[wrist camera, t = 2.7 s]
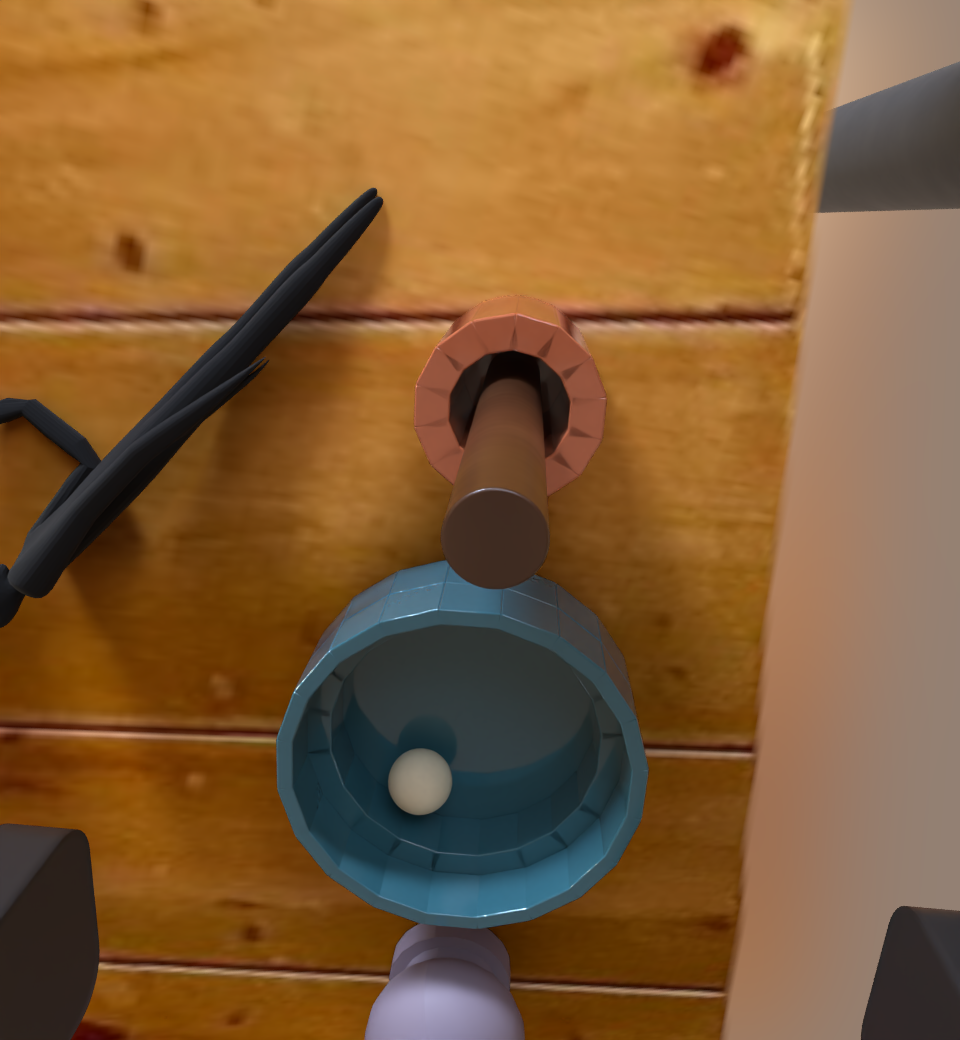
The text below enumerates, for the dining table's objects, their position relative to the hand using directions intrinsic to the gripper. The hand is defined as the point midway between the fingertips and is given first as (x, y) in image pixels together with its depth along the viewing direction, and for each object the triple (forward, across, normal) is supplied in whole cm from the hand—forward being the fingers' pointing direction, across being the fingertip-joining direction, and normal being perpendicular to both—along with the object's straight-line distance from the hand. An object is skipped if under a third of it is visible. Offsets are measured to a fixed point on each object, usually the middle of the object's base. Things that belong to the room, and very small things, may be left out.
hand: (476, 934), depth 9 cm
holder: (+30, 0, -1) cm, 30 cm away
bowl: (+30, +1, +15) cm, 34 cm away
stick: (+30, 0, -1) cm, 30 cm away
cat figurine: (+30, +1, +31) cm, 44 cm away
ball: (+28, +3, +18) cm, 34 cm away
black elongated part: (+30, +17, 0) cm, 35 cm away
